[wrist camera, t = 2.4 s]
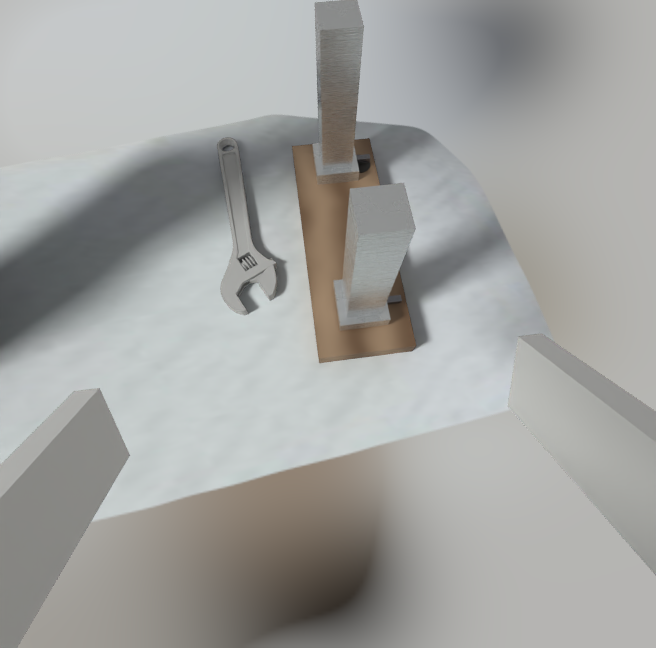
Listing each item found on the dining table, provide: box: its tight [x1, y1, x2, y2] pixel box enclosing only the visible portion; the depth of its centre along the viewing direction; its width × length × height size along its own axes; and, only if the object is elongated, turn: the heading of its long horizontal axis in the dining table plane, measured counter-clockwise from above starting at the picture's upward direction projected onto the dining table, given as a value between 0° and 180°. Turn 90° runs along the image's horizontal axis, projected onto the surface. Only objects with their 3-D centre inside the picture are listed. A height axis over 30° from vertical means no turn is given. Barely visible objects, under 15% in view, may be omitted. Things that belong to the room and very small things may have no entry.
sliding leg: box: [333, 183, 416, 331], centre depth 29 cm, size 7×5×16 cm
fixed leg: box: [312, 0, 370, 185], centre depth 35 cm, size 7×5×16 cm
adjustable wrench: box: [217, 138, 278, 315], centre depth 42 cm, size 25×6×2 cm, turn 8°
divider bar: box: [292, 138, 416, 363], centre depth 40 cm, size 10×28×2 cm, turn 7°
